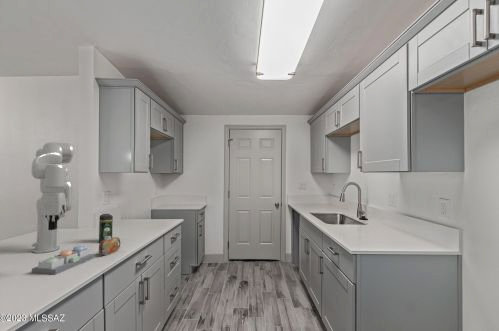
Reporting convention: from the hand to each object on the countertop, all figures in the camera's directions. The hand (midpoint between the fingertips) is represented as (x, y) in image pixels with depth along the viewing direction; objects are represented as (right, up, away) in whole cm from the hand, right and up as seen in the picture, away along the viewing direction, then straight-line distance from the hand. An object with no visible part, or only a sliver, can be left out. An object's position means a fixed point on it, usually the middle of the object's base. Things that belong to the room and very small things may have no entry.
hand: (52, 229), depth 127 cm
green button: (0, -17, -1) cm, 17 cm away
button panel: (+1, -19, +7) cm, 21 cm away
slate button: (+2, -16, +16) cm, 23 cm away
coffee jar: (-5, -22, +55) cm, 60 cm away
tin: (+12, -21, +28) cm, 37 cm away
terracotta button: (+1, -16, +7) cm, 17 cm away
